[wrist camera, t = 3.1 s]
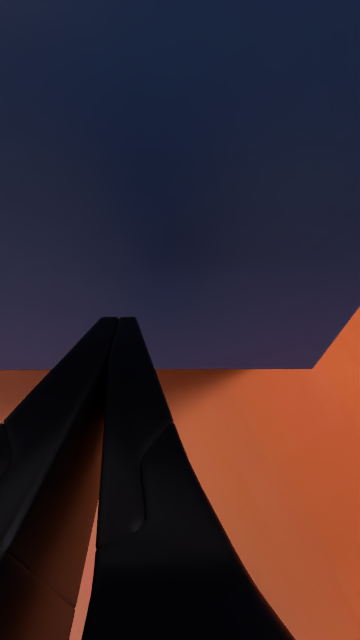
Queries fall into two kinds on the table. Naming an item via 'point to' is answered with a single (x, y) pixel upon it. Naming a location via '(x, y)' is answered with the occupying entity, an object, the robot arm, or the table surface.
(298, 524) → the table surface
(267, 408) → the table surface
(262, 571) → the table surface
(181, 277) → the lid
